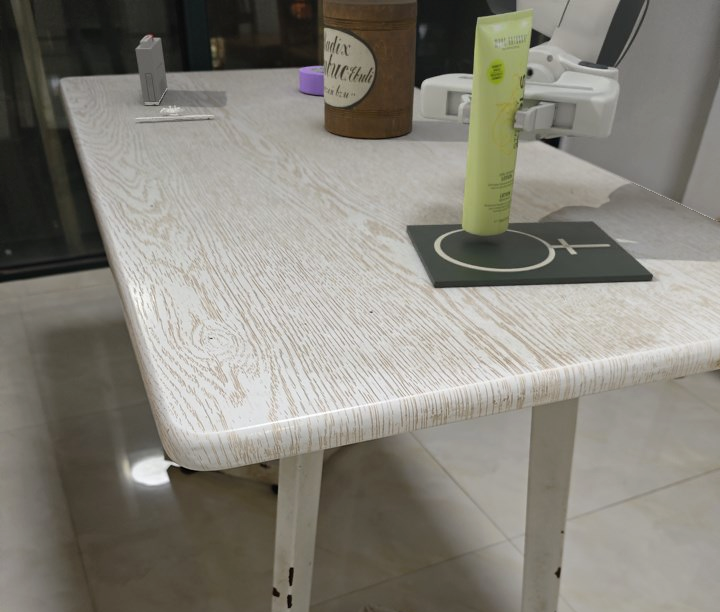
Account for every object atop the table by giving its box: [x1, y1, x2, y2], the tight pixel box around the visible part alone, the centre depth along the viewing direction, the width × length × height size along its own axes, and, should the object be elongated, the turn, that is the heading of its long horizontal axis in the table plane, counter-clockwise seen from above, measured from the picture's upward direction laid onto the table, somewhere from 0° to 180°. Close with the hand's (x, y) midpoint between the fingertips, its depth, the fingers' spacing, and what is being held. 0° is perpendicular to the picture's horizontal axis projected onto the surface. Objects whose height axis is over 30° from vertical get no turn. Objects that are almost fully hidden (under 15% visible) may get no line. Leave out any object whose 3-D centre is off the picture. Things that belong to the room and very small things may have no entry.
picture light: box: [135, 105, 216, 119], centre depth 122 cm, size 14×4×2 cm, turn 108°
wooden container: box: [322, 0, 418, 139], centre depth 112 cm, size 15×15×22 cm
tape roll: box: [298, 65, 324, 96], centre depth 144 cm, size 12×12×4 cm
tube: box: [461, 9, 533, 236], centre depth 69 cm, size 6×5×20 cm
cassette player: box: [134, 34, 168, 103], centre depth 134 cm, size 16×3×10 cm, turn 6°
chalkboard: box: [405, 220, 654, 288], centre depth 75 cm, size 22×16×1 cm
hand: (493, 118), depth 68 cm, fingers closed on tube, 4 cm apart
